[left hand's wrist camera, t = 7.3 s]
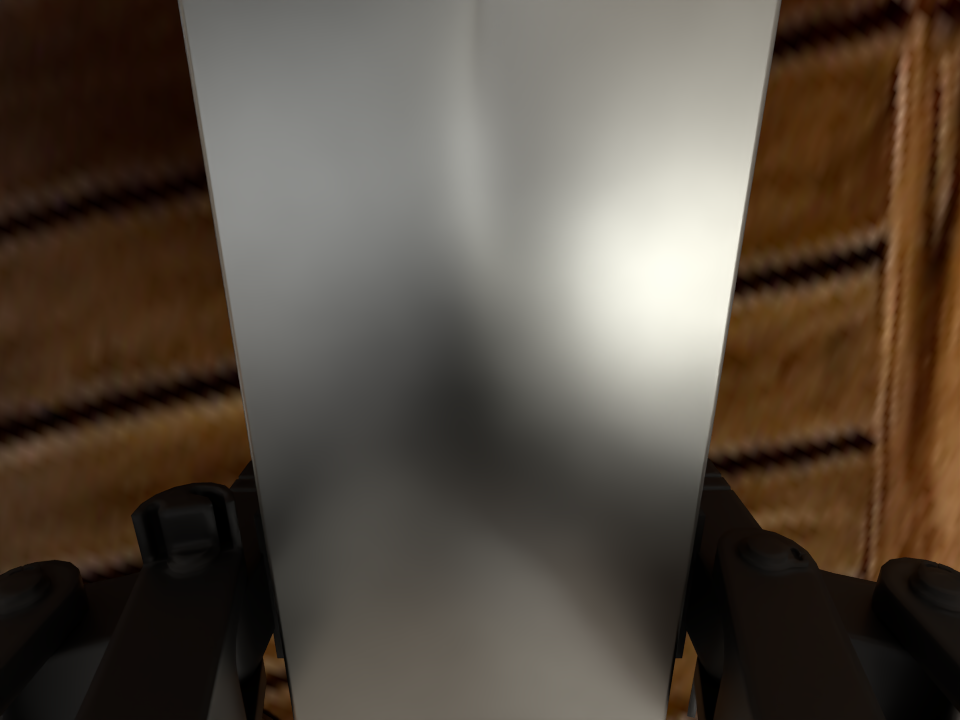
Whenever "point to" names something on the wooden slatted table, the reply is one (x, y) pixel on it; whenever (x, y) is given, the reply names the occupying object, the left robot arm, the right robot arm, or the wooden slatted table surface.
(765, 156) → the wooden slatted table surface
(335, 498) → the bar
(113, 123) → the wooden slatted table surface
